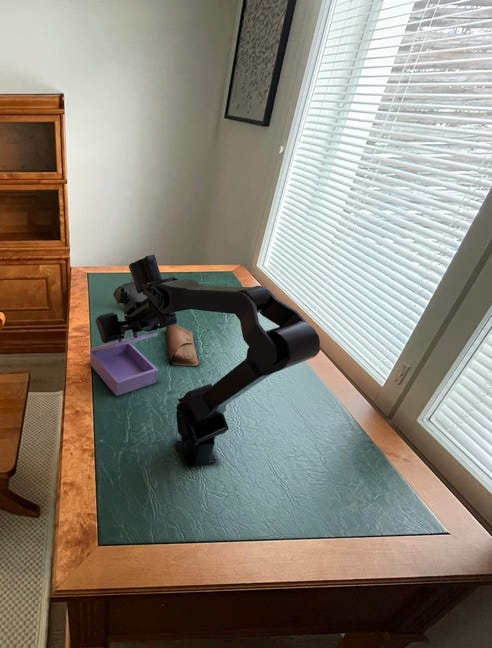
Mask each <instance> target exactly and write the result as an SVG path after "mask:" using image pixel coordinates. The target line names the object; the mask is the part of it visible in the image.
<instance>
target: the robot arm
mask: <svg viewBox="0 0 492 648" xmlns="http://www.w3.org/2000/svg"><path fill="white" fill-rule="evenodd" d="M128 270H129V272H130V275H131V278H132V279H133V281H134V282H130V281H129V282H130V283H129V282H125V283H122V285H118V286H117V288H116V287H115V290H114V292H113V295H112V297H113V299H114V300H115V302H116V303H117V304H119V305H120V304H122V305H123V306H124V308H123V309H122V311H123V313H124V316H123V319H124V320H119V317H118V314H117V313H114V312H109V313H104V314H101V315H98V316H97V317H96V319H95V323H96V327H97V330H98V333H99V336H100V339H101V342H102V343H103V344H109V343H113V342H116V341H118V340H120V339H122V340H124V339H125V334H126V332H129V331H131V332H132V335H133V334H134V333H141V332H148V333H149V332H154V331H156V330H159V329H160V330H162V329H164V328H165V329H166V327H168V326H170V325H173V324H175V325H177V323H178V318H177V313H178V312H182V311H188V310H194V311H202V312H203V311H204V312H211V313H223V314H231V315H235V316H236V318H237V319H238V320H239V323H240V330H241V336H242V340H243V341H244V342H245V343H246V346H248V348H247V349H246V357H245V359H244V360H242V361H241V362H240V363H238V364H237V365H236V366H235V367H234V368H232V369H231V370H230V371H228V372H227V373H226V374H225V375H223V377H221V378H220V379H218V381H216V382H215V383H214V384H212V383H211V382H209V383H208V384H204V385H202V386H200V387H197V388H194V389H191V390H189V391H187V392H186V393H184V395H183V397H181V398H178V399H177V401H178V403H177V405H176V414H175V415H176V427H177V428H176V429H177V433H178V434H179V435H180V440H177V441H176V447H177V449H178V450H179V453H180V456H181V457H182V459H183V462H184V464H185V466H186V467H188V468H189V467H196V466H202V465H211V464H216V462H217V459H216V457H215V455H214V453H213V451H214V447H215V444H216V442H215V440H216V437H218V436H220V435H224V434H225V433H226V432H228V431H229V425H228V422H227V419H226V416H225V414H224V413H225V412H226V411H227V405H228V404H230V403H232V402H233V401H234V400H236V399H237V398H239V397H240V396H242V395H243V394H245V393H246V392H247V391H249V390H251V389H252V388H253V387H255V386H256V385H258V384H260V383H261V382H262V381H264V380H266V379H267V378H268V377H270V376H271V375H272V374H275V373H278V372H280V371H283V370H286V369H288V368H291V367H294V366H296V365H298V364H301V363H304V362H306V361H309V360H311V359H314V358H315V357H316V356H318V354H319V353H320V351H321V347H320V346H321V339H320V336H319V334H318V332H317V330H316V329H315V328H314V327H313V326H312V325H311V324H309V323H308V322H307V320H306V319H305V318H304V317H303V316H302V314H300V312H299V311H298V310H297V309H294V308H293V307H291V306H290V305H288V304H286V303H285V302H283V301H281V300H280V299H278V298H277V297H276V296H275V295H274V294H273V292H272V291H271V290H270V289H269V288H268V287H266V286H263V285H254V286H227V285H203V284H200V283H199V282H198V280H193V279H189V278H187V277H186V278H185V277H184V278H178V277H175V276H171V277H166V278H163V276H162V274H161V271H160V268H159V265H158V260H157V257H156V254H150V255H146V256H144V257H143V258H141V259H138V260H136V261H134V262H131V263H130V264H129V265H128ZM258 314H260V315H261V316H262V317H264V318H265V319H266V320H268V321H270V322H272V323H273V324H275V325H277V326H278V327H274V328H272V329H268V330H265V328H264V327H263V325H261V324H260V320H259V319H260V318H259V315H258ZM124 326H128V327H125V328H124Z"/></svg>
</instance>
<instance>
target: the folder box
mask: <svg viewBox="0 0 492 648" xmlns="http://www.w3.org/2000/svg"><path fill="white" fill-rule="evenodd" d="M89 365H90V366H91V367H92V368H93V370H94V371H95V372H96V374H97V375H98V376H99V377H100V378H101V379H102V381H103V382H104V383H105V385H106V386H107V387H108V388H109V389H110V390H111V392H112V393H113V394H114V395H115V396H116V397H117V396H121V395H124V394H127V393H129V392H132V391H136V390H138V389H142V388H144V387H147V386H151V385H153V384H156V383H157V382H158V375H159V369H158V367H156V366H155V365H154V363H152V362H151V361H150V360H149V359H148V358H147V357H146V356H145V355H144V354H143V353H142V352H140V350H138V349H137V347H135V345H133V343H129V344H125V345H122V346H118V347H114V348H108V349H102V350H97V351H89Z"/></svg>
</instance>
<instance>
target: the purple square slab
mask: <svg viewBox="0 0 492 648" xmlns="http://www.w3.org/2000/svg"><path fill="white" fill-rule="evenodd" d="M125 327H128V326H124V328H125ZM132 335H133V337H127V338H124V339H120V340H116V341H113V342H109V343H104V344H102V345H99V346H94V347H91V348H89V352H91V351H97V350H102V349H108V348H114V347H118V346H122V345H125V344H129V343H131V344H133V343H135V342H139V341H144V340H146V339H150V338H154V337H157V336H159V334H158V331H157V332H152V333H146V334H142V335H138V334H137V333H134V334H133V333H132Z"/></svg>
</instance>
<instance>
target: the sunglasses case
mask: <svg viewBox="0 0 492 648" xmlns="http://www.w3.org/2000/svg"><path fill="white" fill-rule="evenodd" d="M165 330H166V331H165V332H166V337H167V345H168V346H167V347H168V355H169V361H170V363H171V364H172V365H173V366H181V367H197V366H199V365H200V364H199V358H198V355H197V349H196V345H195V340H194V332H193V331H190V330H188V329H186V328H183V327H182V326H179V325H177V324H173V325H170V326H168V327H165Z"/></svg>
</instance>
